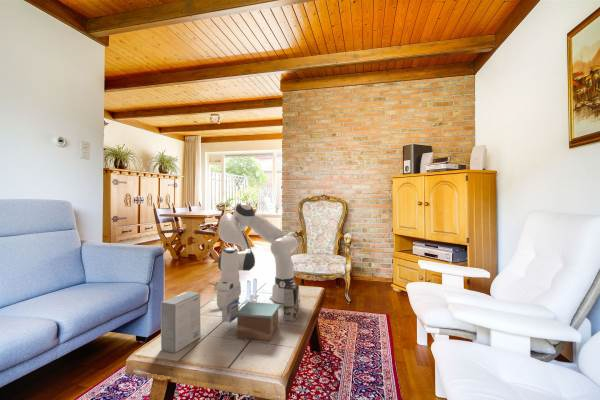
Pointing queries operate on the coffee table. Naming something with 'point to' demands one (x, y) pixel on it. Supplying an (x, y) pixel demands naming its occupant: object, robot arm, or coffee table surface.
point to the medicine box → (231, 311)
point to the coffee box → (291, 302)
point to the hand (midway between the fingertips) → (229, 310)
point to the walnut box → (257, 328)
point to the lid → (258, 310)
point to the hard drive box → (180, 321)
